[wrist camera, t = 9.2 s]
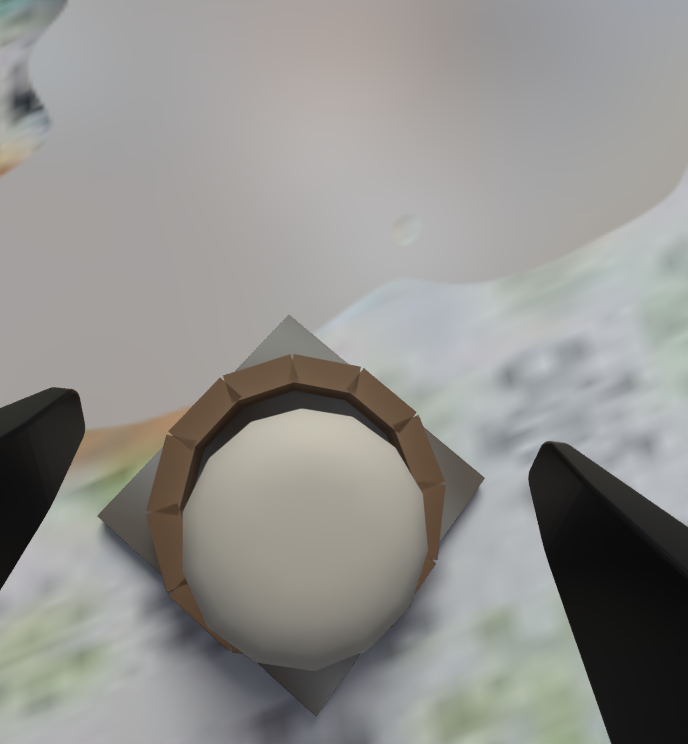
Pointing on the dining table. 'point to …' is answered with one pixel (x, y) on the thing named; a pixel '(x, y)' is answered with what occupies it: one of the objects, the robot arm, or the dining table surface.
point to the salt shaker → (304, 539)
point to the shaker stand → (265, 399)
